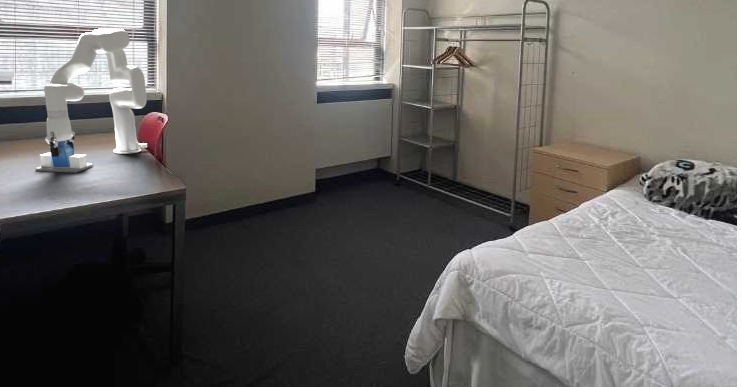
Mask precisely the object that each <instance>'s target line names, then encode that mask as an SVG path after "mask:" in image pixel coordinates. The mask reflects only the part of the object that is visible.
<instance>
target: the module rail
mask: <svg viewBox="0 0 741 387" xmlns="http://www.w3.org/2000/svg"><path fill="white" fill-rule="evenodd" d="M39 159H40V166H39V167H36V168H35V169H34V170H35V171H37V172H38V171H39V172H57V173H58V172H59V173H76V174H77V173H78V172H81V171H82V172H83V171H84V170H86V169H90V168H93V166H94V165H93V163H89V162H88V158H87V154H79V153H77V154H74V155H73V156H69V161H70V167H54V166H53V160H52V156H51V152H46V153H43V154H42V153H41V154H39Z"/></svg>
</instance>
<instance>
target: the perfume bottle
mask: <svg viewBox="0 0 741 387" xmlns="http://www.w3.org/2000/svg"><path fill="white" fill-rule="evenodd" d="M57 147H58V151H59V156H58V157H53V156H52V160H53V166H54V167H70V161H69V156H73V155H75V150H74V151H73V149H72V148H71V147H70V146H69V145H66V141H62V142H58V144H57Z"/></svg>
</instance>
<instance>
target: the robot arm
mask: <svg viewBox="0 0 741 387" xmlns="http://www.w3.org/2000/svg"><path fill="white" fill-rule="evenodd" d="M130 38H131V37H130V35H129V34H128V32H127V31H126V30H124V29H122V28H121V29H120V28H119V29H118V28H98V29H94V30H93V31H92V32H85V33H82V34H81V35H80V36H79V38H78V40H77V43H76V45H75V47H74V50H73V52H72V55H71V57H70V59H69V60H67V62H65V63H64V64H63V65H62V66H60V67H59V68H58V69H57V70H56V71H55V72H54V73H53V75H52V78H51V80H50V82H49V84H46V85H45V86H44V88H43V91H44V98H45V108H46V112H47V118H46V135H47V136H45V138H44V140H45V141H46V142H45V143H46V144H47V146H48V148H49V150H50V153H51V156H53V157H58V156H59V151H58V147H57V144H58V142H62V141H65V145H69V146H70V147H71V148H72V149H73V151H74V152H75V148H74V143H75V138H76V132H75V131H74V130H72V125H71V120H70V117H69V112H68V104H67V102H68V101H69V102H77V101H81V100H82V99H83V98H84V96H85V89H84V87H83V86H81V85H80V84H78V83H73V82H71V83H70V81H71V79H73V78H74V77H77V76H79V75H81V74H84V73H86V72H89V70H91V69H92V67H93V64H94V61H95V59H96V56H97V54H98V53H104V55H105V56H106V59H107V66H108V72H109V73H108V74H109V79H110V82H111V83H112V84H113V85H116V86H123V87H117V88H113V89H112V90H110V92H109V96H108V98H109V102H110V106H111V109H112V116H113V124H114V133H115V135H114V136H115V144H116V148H115V149H113V153H115V154H119V155H121V154H123V155H124V154H125V155H127V154H135V153H140V152H141V151H142V149H141V148H148V143H144V142H143V143H140V142H138V139H137V138H138V137H137V129H136V118H135V114H134V111H133V110H132V109H143V108H144V107H145V106H146V104H147V99H148V98H147V90H146V89H147V88H146V81H145V79H146V78H145V75H144V72H143V70H142V69H141V68H140V67H138V66H134V65H128V60H127V55H126V52H125V51H124V49H125V48H127V47H128V46H129V44H130V41H131V40H130ZM124 86H125V87H124ZM126 87H130V88H126Z"/></svg>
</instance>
